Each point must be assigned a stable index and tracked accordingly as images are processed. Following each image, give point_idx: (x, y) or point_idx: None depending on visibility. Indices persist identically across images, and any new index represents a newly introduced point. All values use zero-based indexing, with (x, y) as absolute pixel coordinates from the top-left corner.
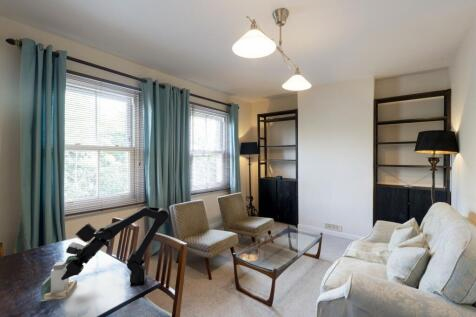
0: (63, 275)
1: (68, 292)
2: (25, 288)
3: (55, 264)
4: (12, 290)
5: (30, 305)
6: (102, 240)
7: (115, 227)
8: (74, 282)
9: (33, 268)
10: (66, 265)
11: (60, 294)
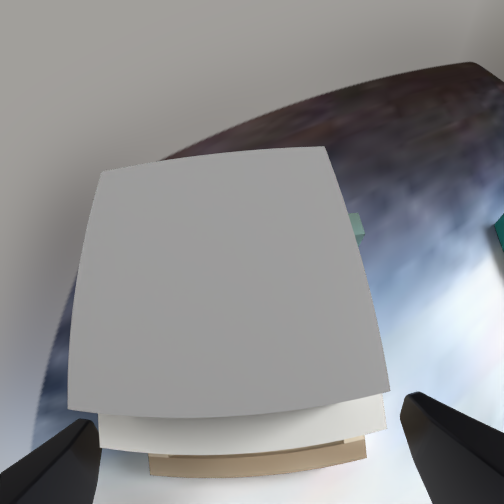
0: (30, 455)
1: (155, 474)
2: (327, 149)
3: (156, 177)
4: (310, 116)
5: None
6: None
7: None
8: (319, 462)
9: (468, 120)
10: (332, 410)
11: None
